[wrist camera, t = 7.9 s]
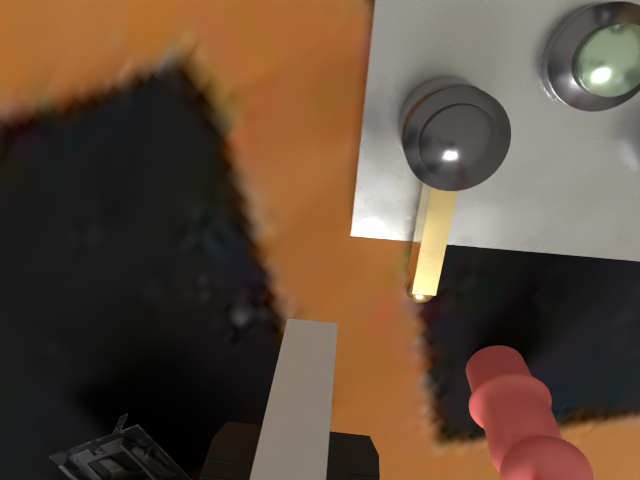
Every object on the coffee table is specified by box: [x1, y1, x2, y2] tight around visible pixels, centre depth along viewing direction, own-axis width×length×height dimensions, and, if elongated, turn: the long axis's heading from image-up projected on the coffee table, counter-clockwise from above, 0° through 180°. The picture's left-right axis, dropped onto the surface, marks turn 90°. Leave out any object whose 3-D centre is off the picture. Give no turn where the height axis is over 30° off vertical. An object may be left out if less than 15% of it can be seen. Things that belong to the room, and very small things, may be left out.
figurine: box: [466, 345, 593, 480], centre depth 25 cm, size 5×5×15 cm
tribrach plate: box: [351, 0, 640, 261], centre depth 20 cm, size 20×20×4 cm
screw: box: [398, 78, 511, 303], centre depth 22 cm, size 11×4×4 cm, turn 176°
